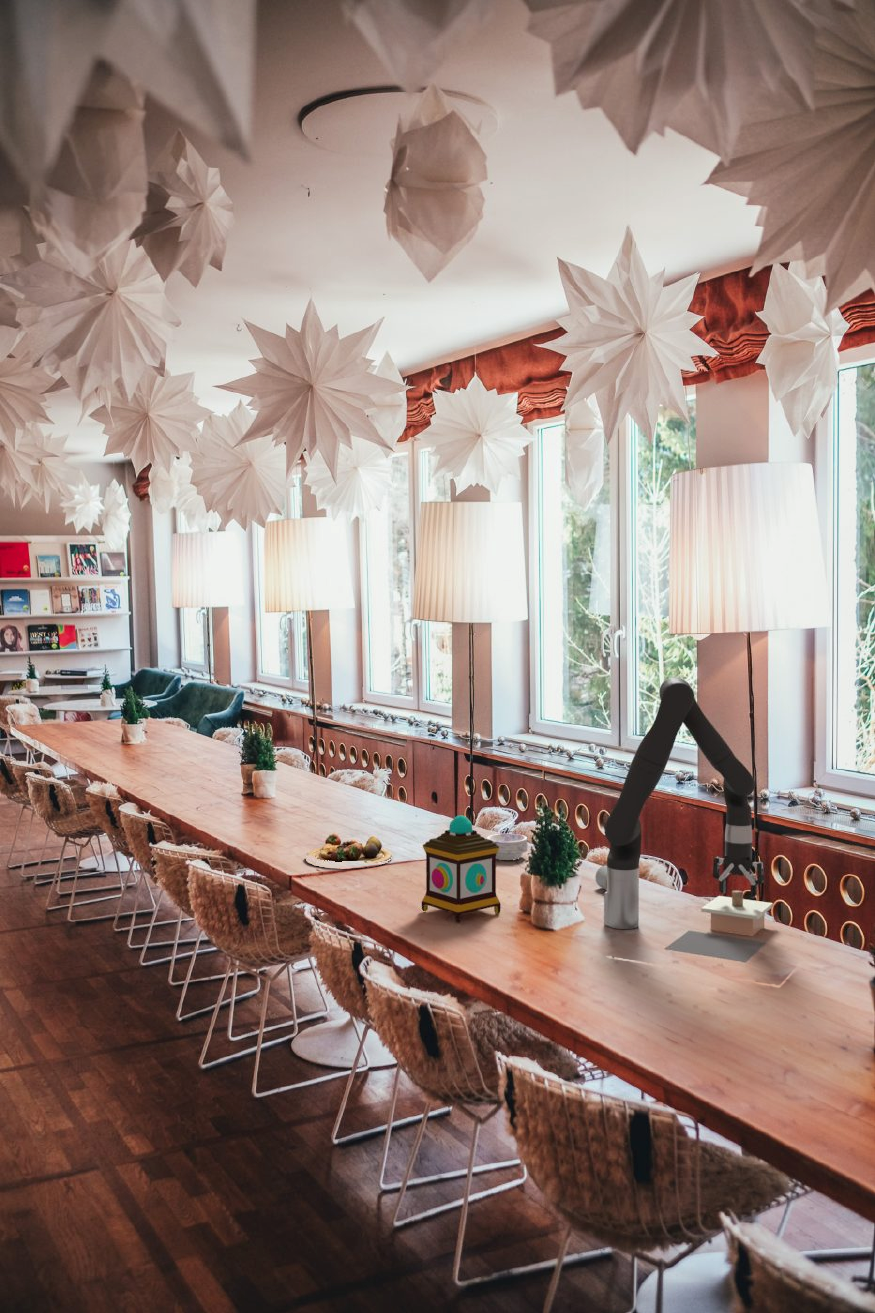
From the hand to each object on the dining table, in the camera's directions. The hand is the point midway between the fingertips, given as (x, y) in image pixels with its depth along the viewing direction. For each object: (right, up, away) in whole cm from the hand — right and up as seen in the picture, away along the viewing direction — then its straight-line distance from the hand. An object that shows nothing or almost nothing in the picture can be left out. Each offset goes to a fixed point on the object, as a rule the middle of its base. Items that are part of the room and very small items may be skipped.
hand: (738, 895), depth 323 cm
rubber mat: (-10, -11, -17) cm, 22 cm away
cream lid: (0, -4, 0) cm, 4 cm away
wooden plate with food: (-119, -7, +91) cm, 150 cm away
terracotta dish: (0, -10, 0) cm, 10 cm away
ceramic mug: (-28, -8, +46) cm, 55 cm away
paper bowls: (-61, -6, +93) cm, 111 cm away
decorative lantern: (-79, -10, +19) cm, 82 cm away
